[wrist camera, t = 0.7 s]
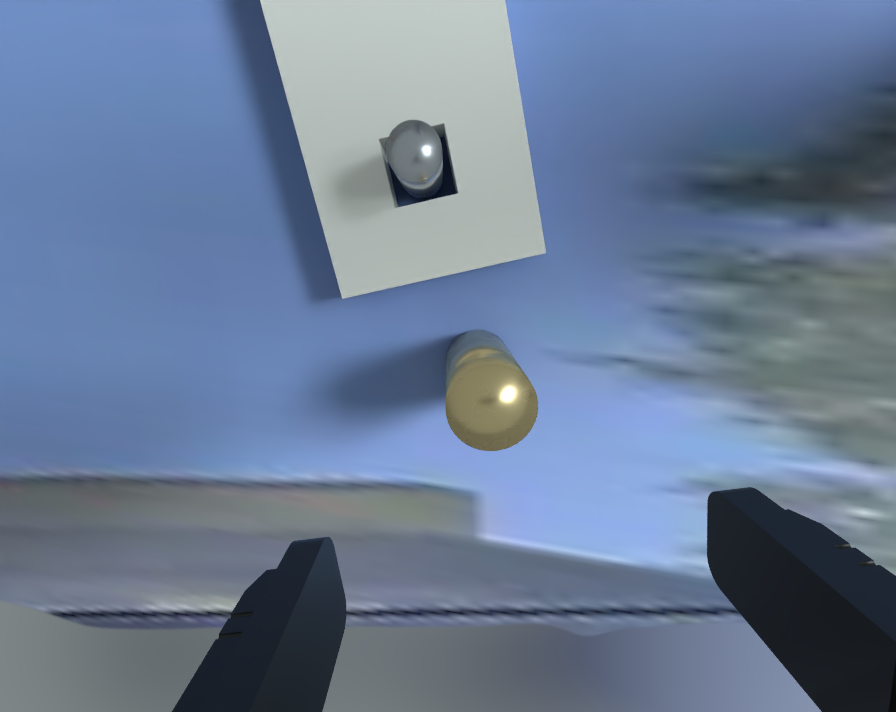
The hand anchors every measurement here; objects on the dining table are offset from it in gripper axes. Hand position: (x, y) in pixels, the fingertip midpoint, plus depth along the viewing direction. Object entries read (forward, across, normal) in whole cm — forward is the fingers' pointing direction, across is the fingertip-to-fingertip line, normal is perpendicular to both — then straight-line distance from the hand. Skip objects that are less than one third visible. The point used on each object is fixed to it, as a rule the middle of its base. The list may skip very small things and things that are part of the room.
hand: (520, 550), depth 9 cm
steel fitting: (+19, +2, -11) cm, 22 cm away
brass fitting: (+19, 0, +1) cm, 19 cm away
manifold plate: (+19, +2, -17) cm, 26 cm away
